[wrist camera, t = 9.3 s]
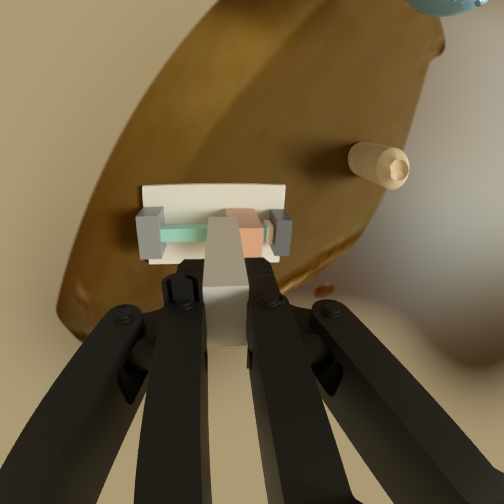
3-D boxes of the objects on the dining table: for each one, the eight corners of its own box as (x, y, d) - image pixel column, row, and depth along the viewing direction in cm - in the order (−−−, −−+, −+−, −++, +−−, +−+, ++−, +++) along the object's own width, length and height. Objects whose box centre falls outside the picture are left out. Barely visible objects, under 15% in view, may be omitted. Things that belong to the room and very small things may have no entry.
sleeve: (225, 208, 39) (228, 228, 32) (254, 208, 39) (263, 228, 32) (225, 243, 41) (227, 269, 34) (252, 242, 42) (260, 268, 34)
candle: (353, 181, 41) (388, 199, 32) (342, 149, 38) (376, 158, 29) (381, 168, 40) (419, 182, 31) (371, 136, 38) (410, 143, 29)
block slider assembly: (143, 185, 37) (132, 194, 32) (284, 184, 40) (295, 193, 34) (150, 261, 42) (142, 280, 37) (277, 259, 45) (286, 278, 39)
